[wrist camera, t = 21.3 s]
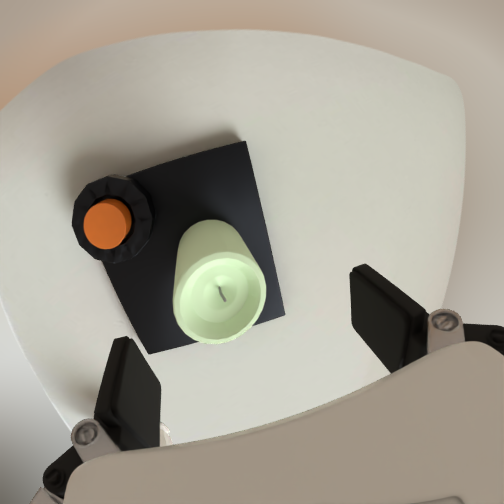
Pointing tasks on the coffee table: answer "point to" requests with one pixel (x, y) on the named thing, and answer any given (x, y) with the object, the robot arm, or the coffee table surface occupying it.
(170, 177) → the scale
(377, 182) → the coffee table surface
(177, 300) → the candle
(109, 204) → the button
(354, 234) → the coffee table surface
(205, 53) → the coffee table surface
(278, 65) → the coffee table surface
